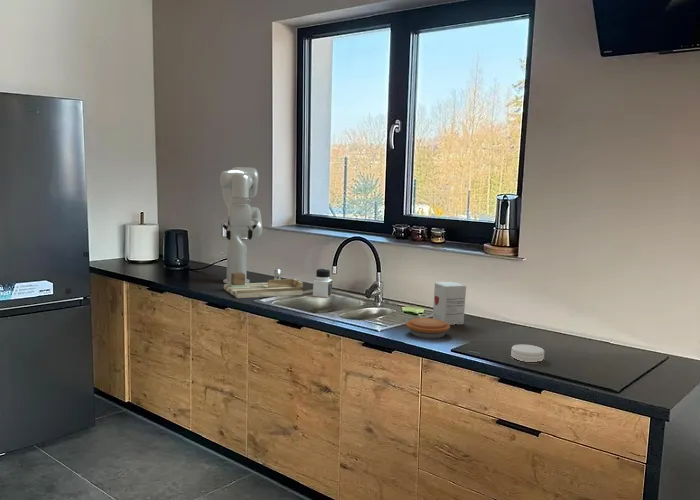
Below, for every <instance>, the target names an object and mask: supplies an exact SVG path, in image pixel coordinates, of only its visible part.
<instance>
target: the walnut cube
mask: <svg viewBox="0 0 700 500" xmlns="http://www.w3.org/2000/svg"><path fill="white" fill-rule="evenodd" d="M231 284H232V285H234V286H237V285H245V274H244V273H242V272H241V273H231Z"/></svg>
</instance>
